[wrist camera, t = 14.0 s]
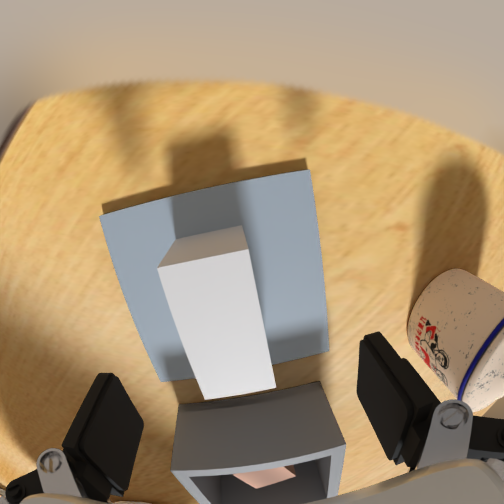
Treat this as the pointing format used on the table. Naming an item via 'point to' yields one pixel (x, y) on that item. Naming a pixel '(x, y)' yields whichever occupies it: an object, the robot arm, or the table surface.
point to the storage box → (259, 447)
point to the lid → (224, 280)
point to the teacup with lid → (462, 336)
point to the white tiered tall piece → (128, 503)
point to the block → (267, 476)
